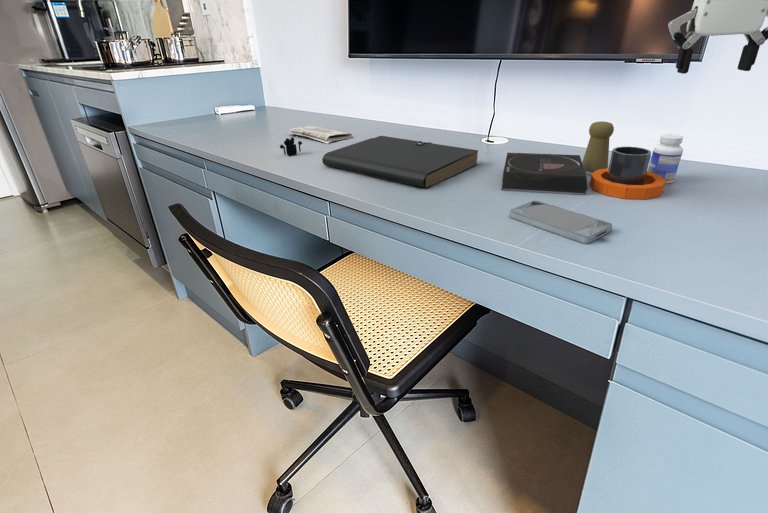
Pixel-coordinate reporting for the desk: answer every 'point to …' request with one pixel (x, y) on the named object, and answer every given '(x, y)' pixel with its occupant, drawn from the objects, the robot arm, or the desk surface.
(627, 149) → the cup
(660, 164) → the pill bottle
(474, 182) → the desk surface
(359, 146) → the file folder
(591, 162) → the olive pawn
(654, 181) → the ring
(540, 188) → the portable cd player
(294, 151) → the wireless earbuds
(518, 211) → the phone
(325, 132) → the newspaper
